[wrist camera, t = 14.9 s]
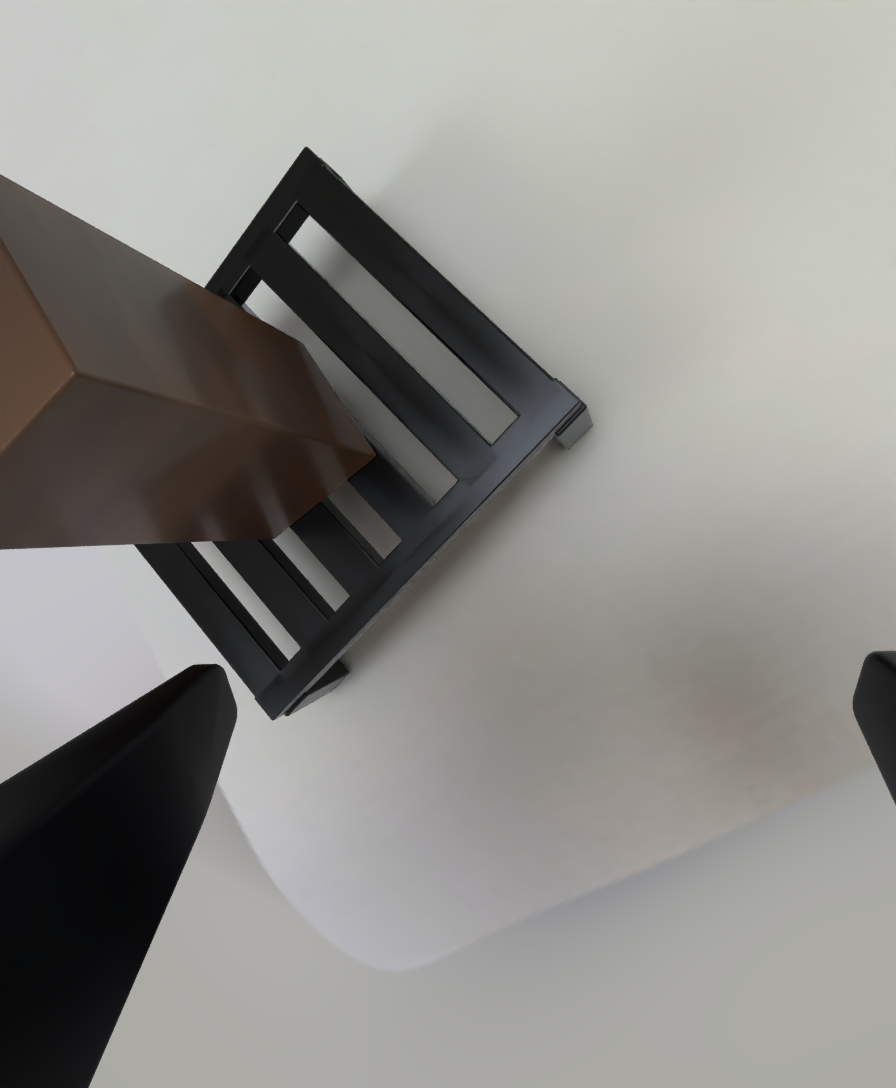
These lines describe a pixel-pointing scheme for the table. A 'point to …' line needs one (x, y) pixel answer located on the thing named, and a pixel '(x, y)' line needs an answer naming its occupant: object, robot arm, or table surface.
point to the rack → (381, 480)
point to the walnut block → (148, 399)
